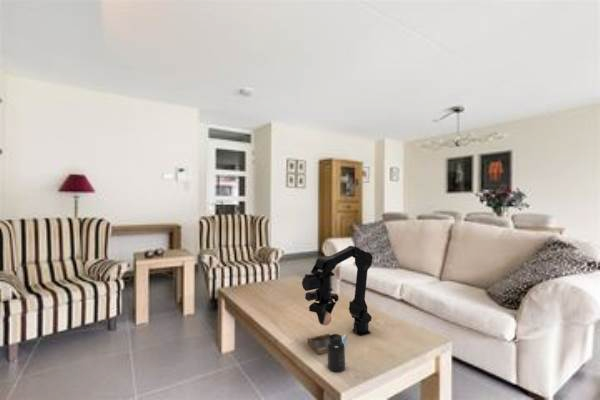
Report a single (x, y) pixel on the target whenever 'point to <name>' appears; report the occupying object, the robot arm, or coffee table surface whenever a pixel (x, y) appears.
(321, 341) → the walnut tray
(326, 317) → the ball
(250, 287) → the coffee table surface
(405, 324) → the coffee table surface
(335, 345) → the supplement bottle
